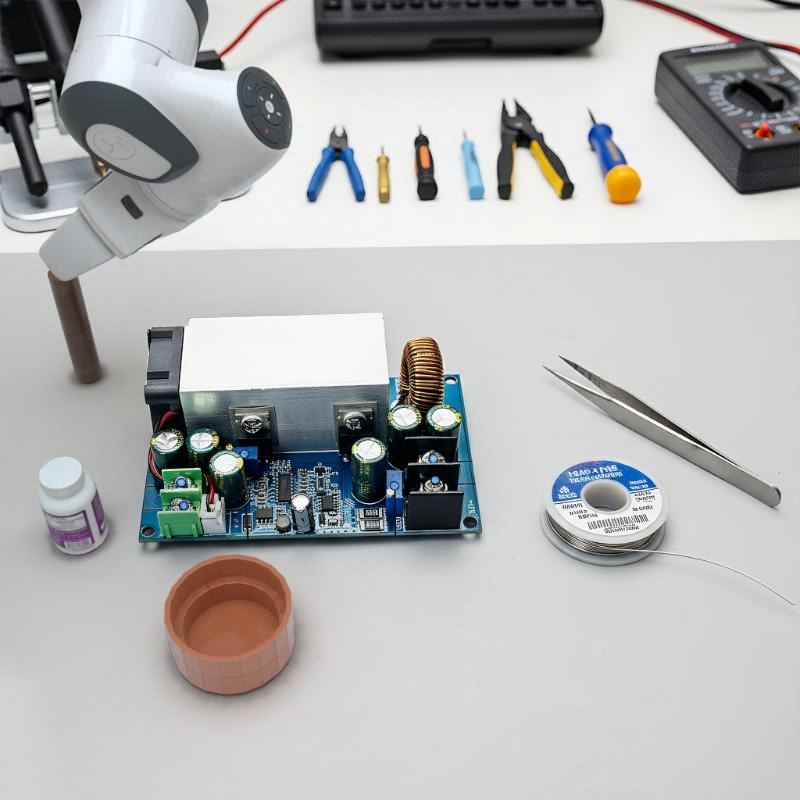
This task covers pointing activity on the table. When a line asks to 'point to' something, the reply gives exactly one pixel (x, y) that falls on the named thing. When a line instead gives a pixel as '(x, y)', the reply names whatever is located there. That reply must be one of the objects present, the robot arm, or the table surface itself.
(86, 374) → the stirring stick
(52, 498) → the pill bottle
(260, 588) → the bowl
